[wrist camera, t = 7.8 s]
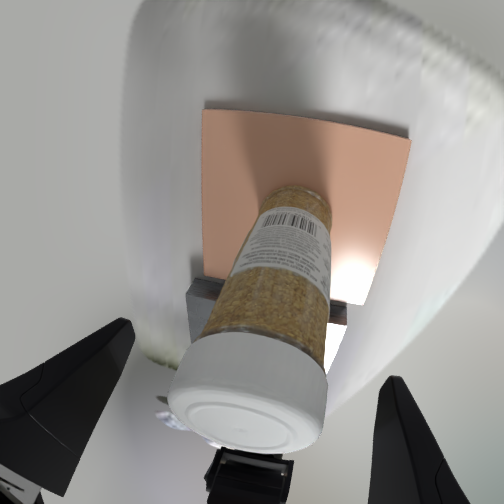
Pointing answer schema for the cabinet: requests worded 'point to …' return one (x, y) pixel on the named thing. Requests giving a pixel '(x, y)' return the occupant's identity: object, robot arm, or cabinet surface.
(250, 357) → the sprinkles bottle
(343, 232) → the terracotta tile
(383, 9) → the cabinet surface
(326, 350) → the collar stand
